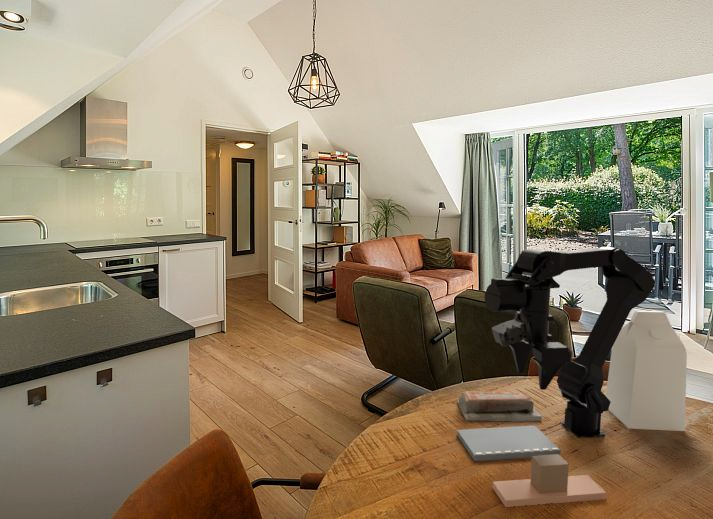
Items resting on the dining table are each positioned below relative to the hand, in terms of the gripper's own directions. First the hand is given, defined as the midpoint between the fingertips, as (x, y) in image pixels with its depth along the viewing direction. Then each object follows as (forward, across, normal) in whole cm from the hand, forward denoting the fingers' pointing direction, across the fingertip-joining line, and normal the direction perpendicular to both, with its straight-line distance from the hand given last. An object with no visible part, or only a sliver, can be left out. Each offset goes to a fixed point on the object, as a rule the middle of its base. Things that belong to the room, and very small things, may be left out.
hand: (531, 380), depth 91 cm
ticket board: (+13, +2, -6) cm, 14 cm away
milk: (+13, -6, +32) cm, 35 cm away
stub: (+13, +18, -6) cm, 23 cm away
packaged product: (+14, -13, -1) cm, 19 cm away
